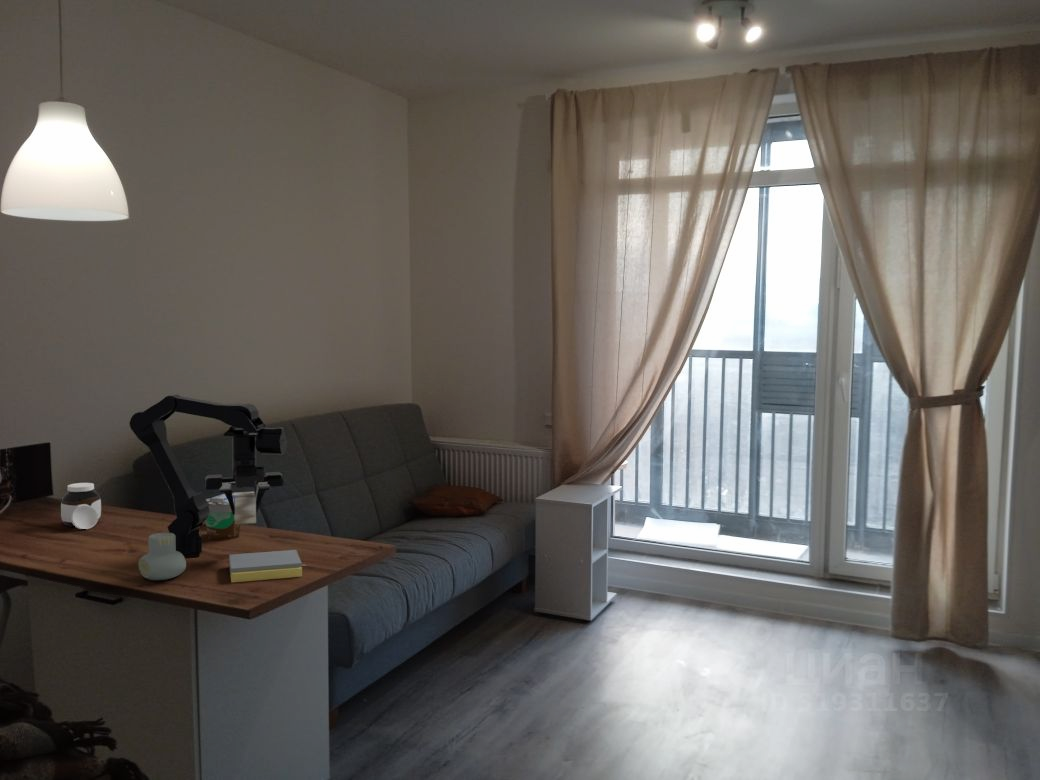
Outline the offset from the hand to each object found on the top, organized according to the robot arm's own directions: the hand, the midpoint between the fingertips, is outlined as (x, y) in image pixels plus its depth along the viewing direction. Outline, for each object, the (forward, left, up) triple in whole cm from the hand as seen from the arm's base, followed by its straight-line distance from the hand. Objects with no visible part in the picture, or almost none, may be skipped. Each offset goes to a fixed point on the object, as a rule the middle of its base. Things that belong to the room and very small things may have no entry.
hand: (244, 513), depth 215 cm
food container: (-6, +21, -11) cm, 25 cm away
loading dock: (+4, -14, -11) cm, 18 cm away
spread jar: (-42, +45, -11) cm, 63 cm away
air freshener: (-19, -12, -11) cm, 25 cm away
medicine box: (-4, +36, -11) cm, 38 cm away
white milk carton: (0, 0, -2) cm, 2 cm away
